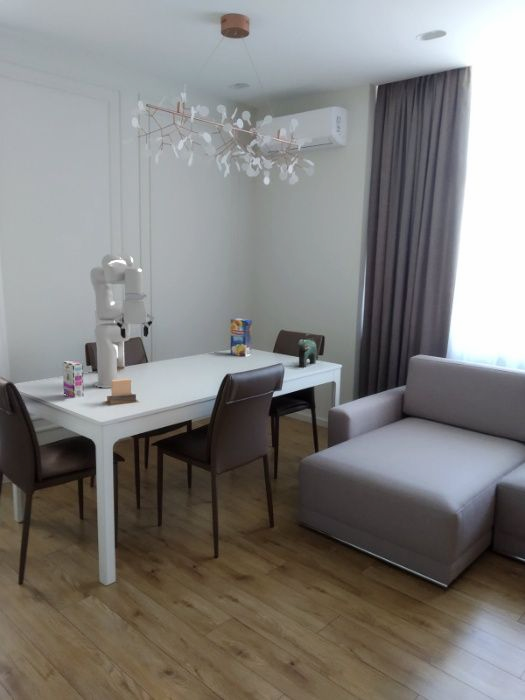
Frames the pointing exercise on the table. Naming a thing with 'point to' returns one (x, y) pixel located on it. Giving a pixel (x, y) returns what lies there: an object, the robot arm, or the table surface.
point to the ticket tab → (121, 387)
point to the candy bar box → (73, 378)
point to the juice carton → (241, 337)
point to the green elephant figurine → (307, 351)
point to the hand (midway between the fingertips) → (134, 337)
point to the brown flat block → (121, 399)
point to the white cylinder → (117, 345)
